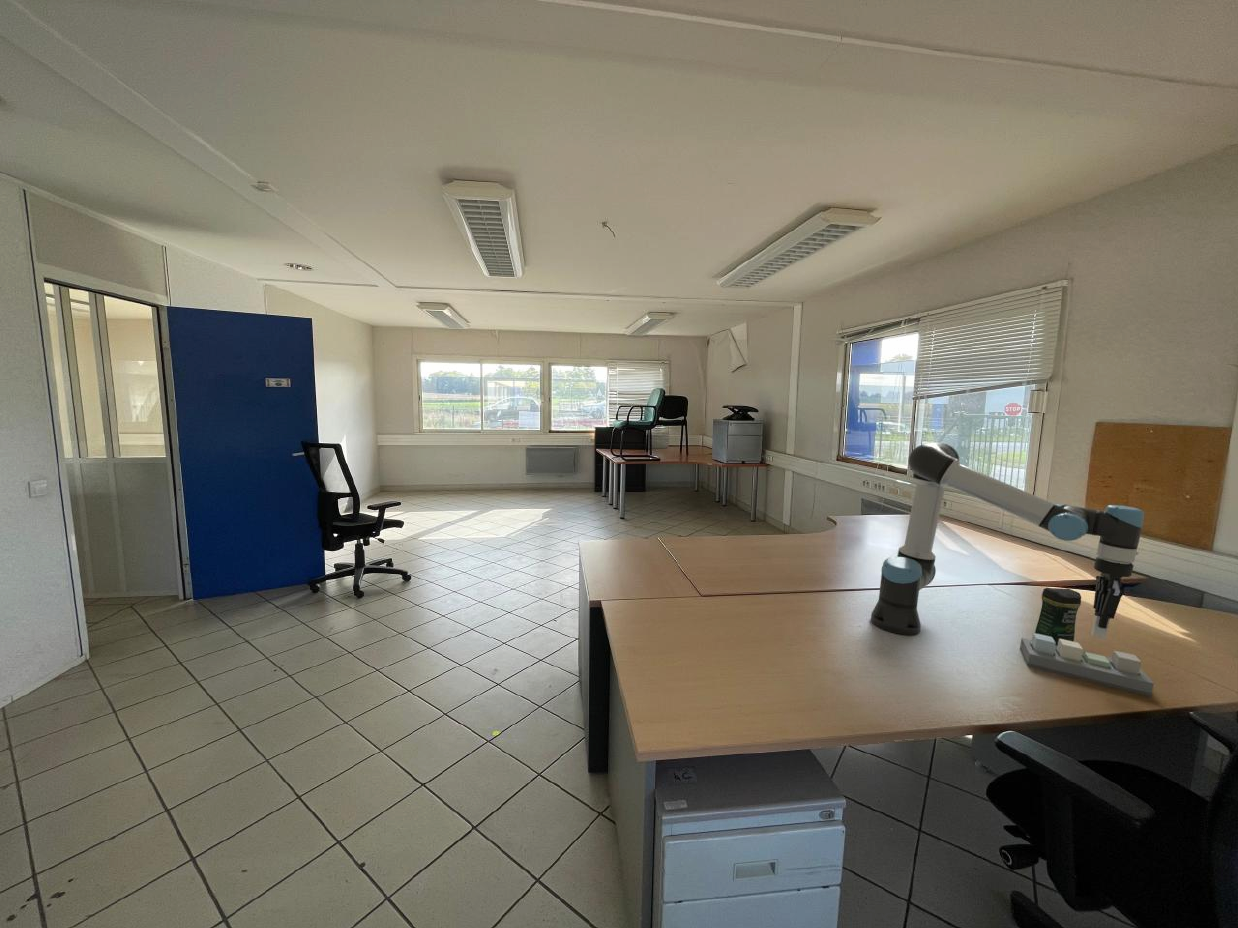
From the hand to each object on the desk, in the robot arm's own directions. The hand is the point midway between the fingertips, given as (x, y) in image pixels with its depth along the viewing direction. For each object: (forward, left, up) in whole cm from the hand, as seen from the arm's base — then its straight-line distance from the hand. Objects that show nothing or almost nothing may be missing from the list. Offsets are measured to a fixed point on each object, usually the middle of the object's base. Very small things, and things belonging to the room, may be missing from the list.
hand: (1098, 636), depth 137 cm
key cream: (-6, 0, -8) cm, 10 cm away
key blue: (-12, 0, -8) cm, 14 cm away
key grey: (+6, 0, -8) cm, 10 cm away
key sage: (0, 0, -10) cm, 10 cm away
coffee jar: (-5, +20, -12) cm, 24 cm away
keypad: (-3, 0, -12) cm, 12 cm away
